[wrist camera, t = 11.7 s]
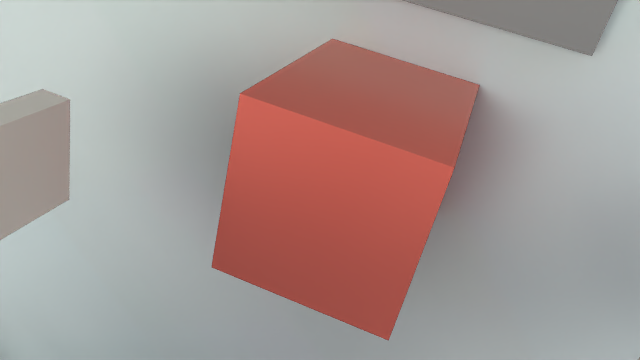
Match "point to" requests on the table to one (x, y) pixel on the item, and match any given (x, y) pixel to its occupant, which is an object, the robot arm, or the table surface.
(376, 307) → the red rectangular block
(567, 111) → the table surface
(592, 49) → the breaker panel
